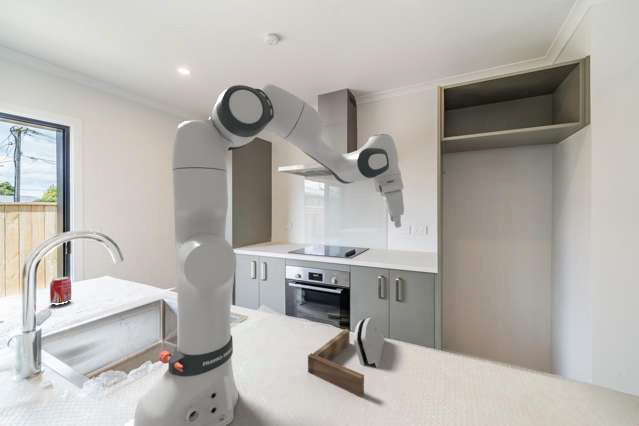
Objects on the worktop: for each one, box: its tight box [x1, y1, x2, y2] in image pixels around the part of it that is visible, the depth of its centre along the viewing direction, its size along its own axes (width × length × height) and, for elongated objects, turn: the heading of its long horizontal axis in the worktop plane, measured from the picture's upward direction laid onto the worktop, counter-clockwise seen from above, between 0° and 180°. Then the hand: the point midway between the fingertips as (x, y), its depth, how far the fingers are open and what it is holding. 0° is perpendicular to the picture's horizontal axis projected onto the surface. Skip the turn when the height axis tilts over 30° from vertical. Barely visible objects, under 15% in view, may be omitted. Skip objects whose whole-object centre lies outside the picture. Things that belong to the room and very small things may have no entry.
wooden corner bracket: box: [307, 328, 365, 398], centre depth 73 cm, size 20×16×4 cm
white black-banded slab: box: [353, 317, 386, 369], centre depth 80 cm, size 17×5×10 cm, turn 159°
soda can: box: [49, 276, 72, 304], centre depth 121 cm, size 7×7×12 cm
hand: (395, 223), depth 87 cm, fingers open, 8 cm apart
